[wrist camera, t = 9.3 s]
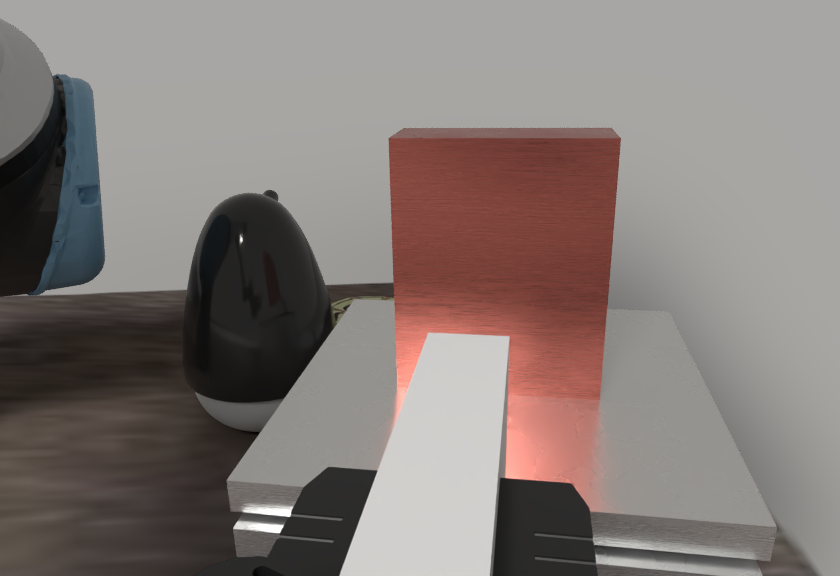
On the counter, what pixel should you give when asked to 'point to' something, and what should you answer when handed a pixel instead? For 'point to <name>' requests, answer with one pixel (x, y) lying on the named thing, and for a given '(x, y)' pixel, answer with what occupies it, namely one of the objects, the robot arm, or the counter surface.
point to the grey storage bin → (616, 566)
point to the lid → (523, 348)
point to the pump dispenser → (252, 310)
